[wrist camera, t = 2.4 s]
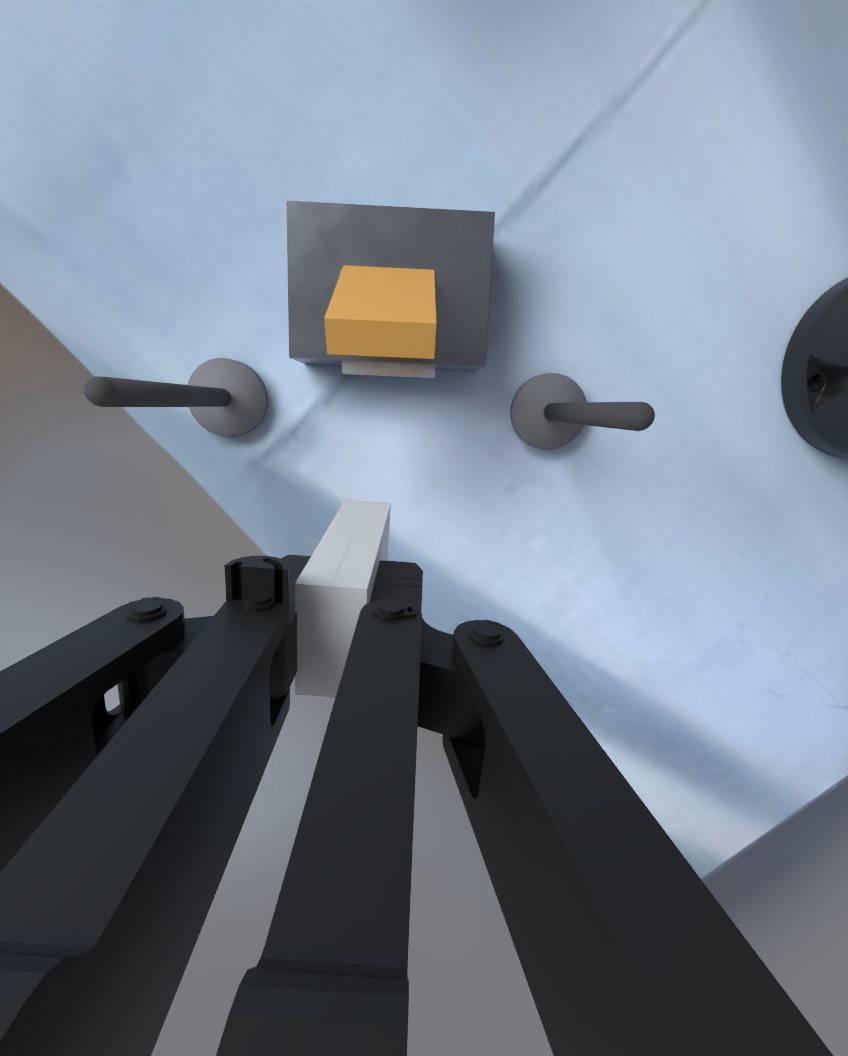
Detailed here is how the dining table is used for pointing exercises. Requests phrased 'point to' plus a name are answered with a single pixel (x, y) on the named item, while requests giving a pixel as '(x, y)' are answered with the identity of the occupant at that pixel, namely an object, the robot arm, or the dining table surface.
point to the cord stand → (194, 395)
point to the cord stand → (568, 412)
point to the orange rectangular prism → (382, 313)
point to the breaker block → (395, 242)
